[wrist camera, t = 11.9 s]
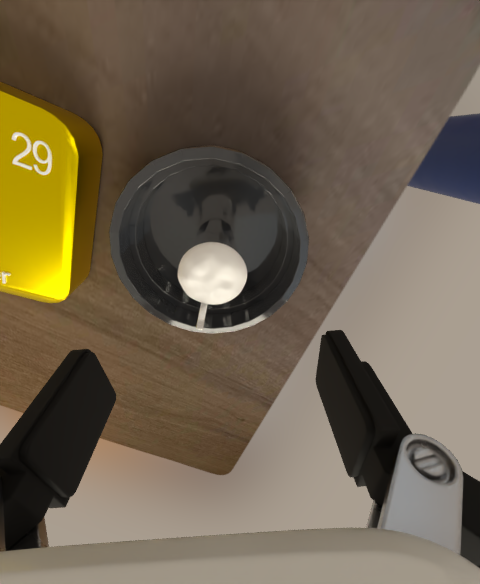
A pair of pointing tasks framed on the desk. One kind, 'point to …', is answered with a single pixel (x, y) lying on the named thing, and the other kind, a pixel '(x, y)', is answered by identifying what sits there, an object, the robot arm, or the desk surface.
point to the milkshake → (212, 267)
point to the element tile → (45, 197)
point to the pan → (186, 223)
